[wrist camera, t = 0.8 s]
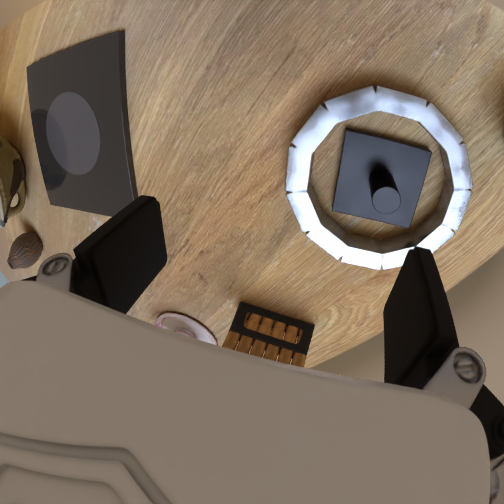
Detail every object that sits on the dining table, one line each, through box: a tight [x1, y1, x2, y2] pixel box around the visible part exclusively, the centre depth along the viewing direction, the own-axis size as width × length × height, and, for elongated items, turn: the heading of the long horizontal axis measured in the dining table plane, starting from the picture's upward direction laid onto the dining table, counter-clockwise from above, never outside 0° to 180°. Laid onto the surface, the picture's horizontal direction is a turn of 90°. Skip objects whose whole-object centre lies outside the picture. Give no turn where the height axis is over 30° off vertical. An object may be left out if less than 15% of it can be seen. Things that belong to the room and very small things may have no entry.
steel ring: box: [285, 85, 473, 270], centre depth 23 cm, size 17×17×3 cm
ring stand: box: [332, 128, 432, 228], centre depth 22 cm, size 8×8×5 cm
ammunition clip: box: [222, 302, 315, 368], centre depth 35 cm, size 11×2×12 cm, turn 81°
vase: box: [7, 232, 42, 269], centre depth 46 cm, size 7×7×9 cm
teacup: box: [156, 313, 217, 345], centre depth 47 cm, size 12×12×6 cm
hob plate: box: [27, 31, 138, 217], centre depth 30 cm, size 24×20×1 cm
